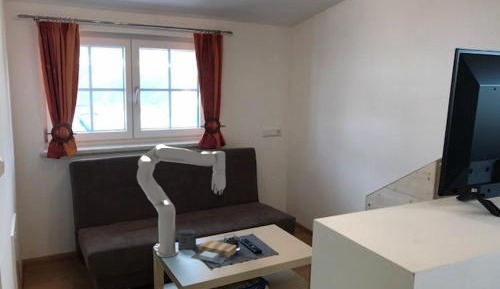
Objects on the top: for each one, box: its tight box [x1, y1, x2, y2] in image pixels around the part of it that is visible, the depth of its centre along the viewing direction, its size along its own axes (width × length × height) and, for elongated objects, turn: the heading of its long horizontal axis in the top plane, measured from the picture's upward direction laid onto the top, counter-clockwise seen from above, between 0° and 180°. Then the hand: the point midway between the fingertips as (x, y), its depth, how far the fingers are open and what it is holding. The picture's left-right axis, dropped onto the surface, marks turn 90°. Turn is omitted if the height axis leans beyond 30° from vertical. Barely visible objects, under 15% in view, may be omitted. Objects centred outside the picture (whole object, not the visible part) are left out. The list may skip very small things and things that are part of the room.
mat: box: [190, 250, 229, 265], centre depth 227 cm, size 20×9×1 cm, turn 65°
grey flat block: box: [199, 251, 218, 262], centre depth 225 cm, size 9×6×2 cm, turn 65°
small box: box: [177, 229, 197, 251], centre depth 240 cm, size 11×6×10 cm, turn 92°
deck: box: [198, 239, 237, 259], centre depth 235 cm, size 20×10×4 cm, turn 65°
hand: (219, 200), depth 241 cm, fingers closed
